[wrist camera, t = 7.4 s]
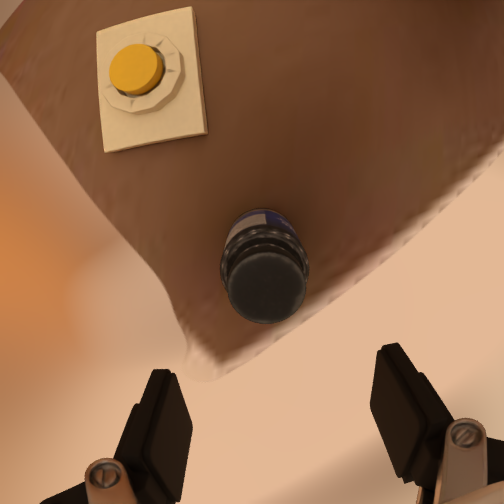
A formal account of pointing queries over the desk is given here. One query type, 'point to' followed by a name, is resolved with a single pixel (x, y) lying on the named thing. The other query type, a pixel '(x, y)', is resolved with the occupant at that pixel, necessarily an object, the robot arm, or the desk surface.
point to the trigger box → (163, 93)
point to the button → (136, 69)
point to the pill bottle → (264, 267)
